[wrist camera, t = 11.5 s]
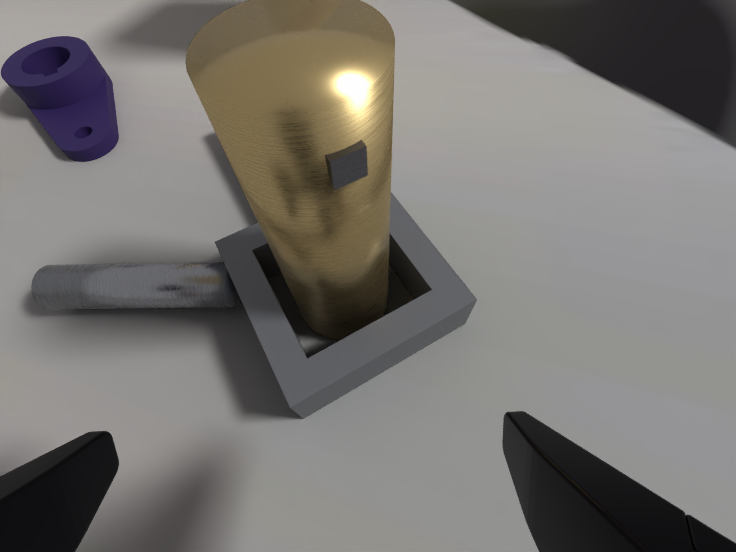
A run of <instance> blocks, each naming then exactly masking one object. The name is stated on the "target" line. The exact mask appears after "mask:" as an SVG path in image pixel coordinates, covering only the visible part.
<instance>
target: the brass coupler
mask: <svg viewBox="0 0 736 552" xmlns="http://www.w3.org/2000/svg"><path fill="white" fill-rule="evenodd" d="M394 56H395V38H394V32H393V30H392V27H391V25H390V24H389V22H388V21H387V19H386V18H385V17H384V16H383V15H382V14H381V13H380V12H379V11H377V10H376V9H375V8H373V7H372V6H370V5H368V4H367V3H365V2H362V1H360V0H248V1H245V2H242V3H240V4H238V5H235V6H233V7H231V8H229V9H227V10H225V11H223V12H222V13H220V14H219V15H217V16H216V17H214V18H212V19H211V20H210V21H209V22H208V23H206V24H205V25H204V26H203V27H202V28H201V29H200V30H199V31H198V32H197V34H196V35H195V37H194V38H193V39H192V41H191V43H190V45H189V47H188V51H187V54H186V68H187V72H188V75H189V77H190V79H191V81H192V84H193V86H194V88H195V90H196V92H197V94H198V96H199V98H200V100H201V103H202V105H203V107H204V109H205V111H206V113H207V115H208V117H209V120H210V122H211V124H212V126H213V128H214V130H215V132H216V134H217V137H218V139H219V141H220V143H221V145H222V147H223V149H224V151H225V153H226V156H227V158H228V160H229V162H230V164H231V166H232V168H233V170H234V173H235V175H236V177H237V179H238V181H239V183H240V185H241V187H242V190H243V192H244V194H245V196H246V198H247V200H248V202H249V204H250V206H251V209H252V211H253V213H254V215H255V217H256V219H257V221H258V223H259V226H260V228H261V230H262V232H263V234H264V236H265V238H266V240H267V242H268V245H269V247H270V249H271V251H272V253H273V255H274V257H275V259H276V262H277V264H278V266H279V268H280V270H281V272H282V274H283V276H284V279H285V281H286V283H287V285H288V287H289V289H290V291H291V293H292V295H293V298H294V300H295V302H296V304H297V306H298V308H299V310H300V312H301V315H302V317H303V319H304V320H305V322H306V323H307V324H308V326H309V327H310V328H311V329H313V330H314V331H315V332H317V333H318V334H320V335H322V336H324V337H328V338H331V339H340V340H342V339H344V338H346V337H347V336H349V335H351V334H353V333H355V332H356V331H358V330H360V329H362V328H364V327H365V326H367V325H369V324H371V323H373V322H374V321H376V320H378V319H380V318H382V317H383V315H384V313H385V310H386V307H387V302H388V271H389V235H390V200H391V164H392V128H393V92H394Z"/></svg>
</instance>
